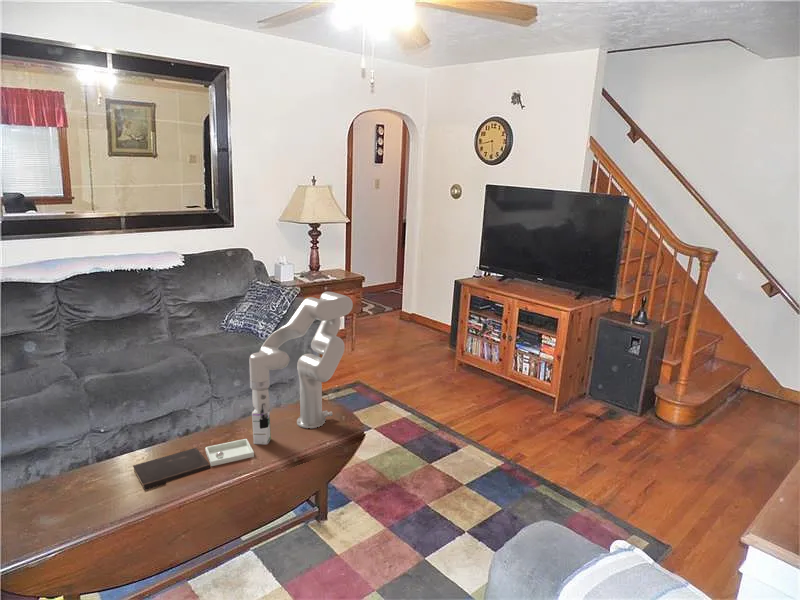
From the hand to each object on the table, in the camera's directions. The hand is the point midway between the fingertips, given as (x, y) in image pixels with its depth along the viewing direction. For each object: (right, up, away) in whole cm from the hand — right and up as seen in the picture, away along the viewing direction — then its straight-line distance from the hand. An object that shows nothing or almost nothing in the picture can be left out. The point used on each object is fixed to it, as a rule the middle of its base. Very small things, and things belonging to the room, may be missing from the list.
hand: (260, 422), depth 219 cm
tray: (-10, -11, -9) cm, 17 cm away
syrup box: (0, -9, +2) cm, 9 cm away
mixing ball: (-12, -11, -12) cm, 21 cm away
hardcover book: (-28, -14, -19) cm, 37 cm away
